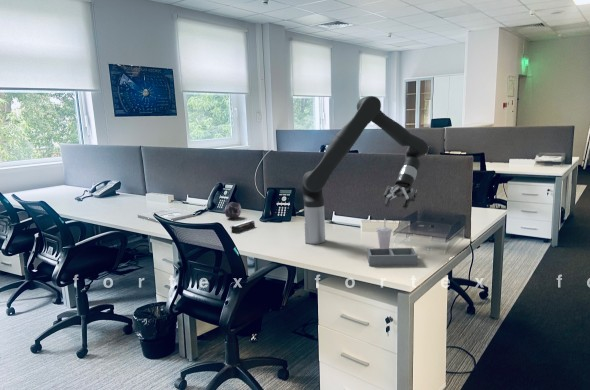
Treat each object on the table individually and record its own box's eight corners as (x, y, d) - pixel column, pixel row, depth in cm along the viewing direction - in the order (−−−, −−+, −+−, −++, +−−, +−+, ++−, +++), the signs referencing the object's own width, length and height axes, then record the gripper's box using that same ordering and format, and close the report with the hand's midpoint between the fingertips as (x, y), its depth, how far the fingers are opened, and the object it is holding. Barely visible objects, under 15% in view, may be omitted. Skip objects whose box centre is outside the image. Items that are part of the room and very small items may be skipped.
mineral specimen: (235, 220, 248) (234, 204, 246) (221, 219, 253) (220, 203, 252) (245, 217, 256) (244, 201, 255) (231, 215, 262) (230, 200, 260)
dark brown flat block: (221, 234, 223) (220, 226, 222) (253, 223, 243) (252, 216, 242) (241, 237, 214) (240, 229, 214) (272, 226, 234) (272, 218, 233)
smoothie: (394, 250, 182) (394, 218, 179) (387, 254, 177) (387, 221, 174) (381, 247, 186) (381, 216, 183) (373, 251, 181) (373, 219, 179)
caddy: (369, 266, 164) (369, 256, 163) (367, 258, 173) (367, 248, 172) (417, 265, 162) (417, 255, 161) (412, 257, 171) (412, 247, 171)
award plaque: (172, 210, 288) (172, 207, 287) (197, 216, 267) (196, 213, 267) (137, 217, 270) (137, 214, 270) (161, 224, 250) (160, 220, 249)
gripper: (389, 171, 195) (377, 200, 188) (419, 173, 186) (407, 203, 179) (394, 181, 200) (383, 210, 193) (423, 183, 191) (412, 213, 184)
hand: (395, 206), depth 186 cm, fingers open, 8 cm apart
